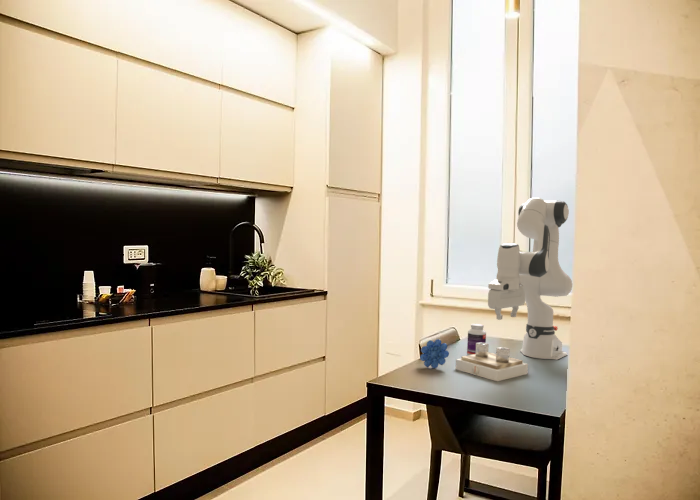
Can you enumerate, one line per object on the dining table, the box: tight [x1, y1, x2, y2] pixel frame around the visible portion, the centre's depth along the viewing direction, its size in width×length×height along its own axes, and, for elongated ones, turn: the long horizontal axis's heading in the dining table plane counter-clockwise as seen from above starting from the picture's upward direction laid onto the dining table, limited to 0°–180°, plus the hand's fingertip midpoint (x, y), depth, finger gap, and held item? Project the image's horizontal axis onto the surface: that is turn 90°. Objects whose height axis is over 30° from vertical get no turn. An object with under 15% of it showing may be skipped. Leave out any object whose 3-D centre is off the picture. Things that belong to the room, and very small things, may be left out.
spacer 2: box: [495, 346, 510, 363], centre depth 202 cm, size 5×5×5 cm
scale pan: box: [460, 351, 524, 369], centre depth 206 cm, size 17×17×1 cm
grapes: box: [419, 338, 450, 369], centre depth 209 cm, size 12×7×12 cm, turn 71°
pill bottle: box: [466, 323, 487, 356], centre depth 232 cm, size 8×8×14 cm
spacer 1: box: [476, 342, 490, 357], centre depth 210 cm, size 5×5×5 cm
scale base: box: [455, 357, 529, 382], centre depth 206 cm, size 21×20×4 cm
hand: (506, 318), depth 206 cm, fingers open, 8 cm apart
